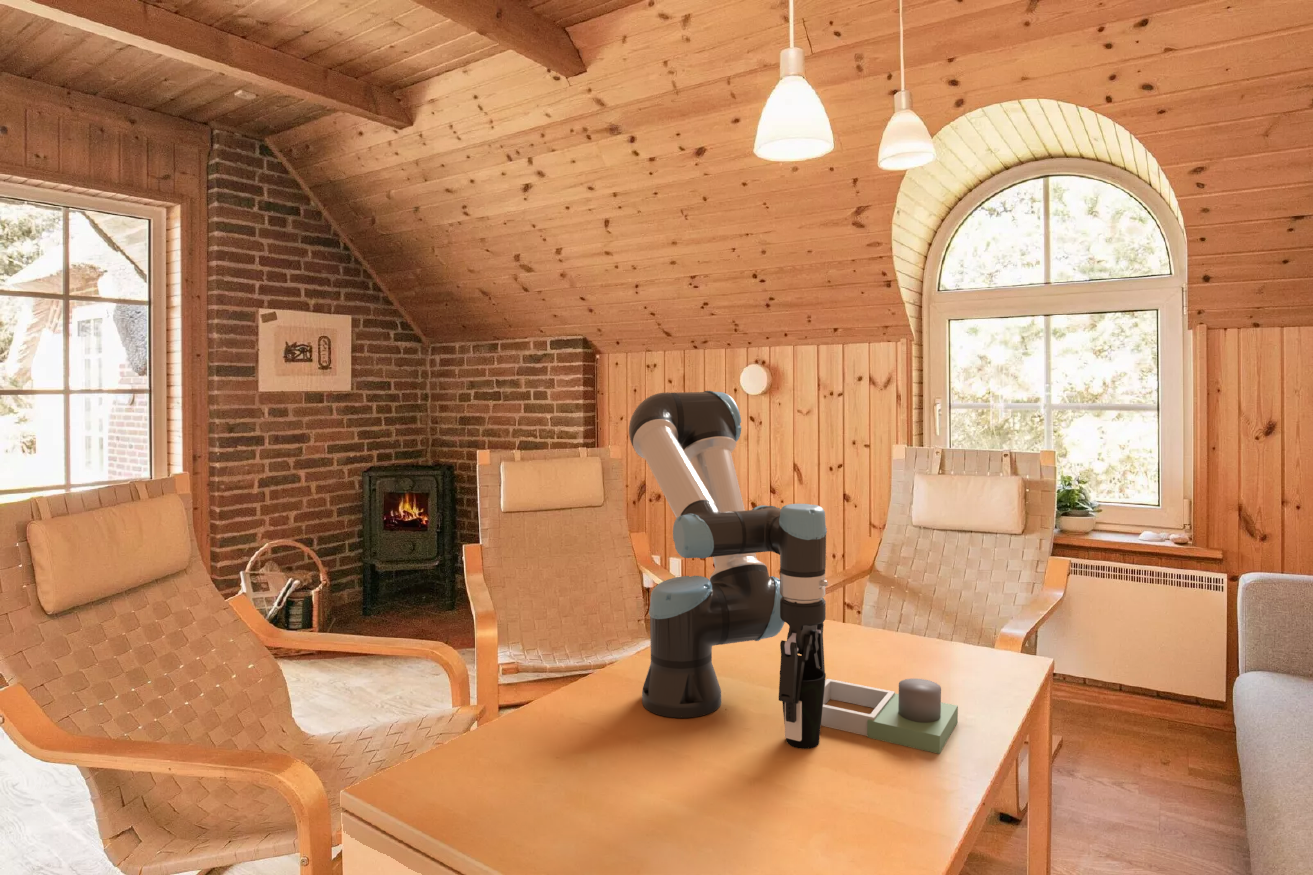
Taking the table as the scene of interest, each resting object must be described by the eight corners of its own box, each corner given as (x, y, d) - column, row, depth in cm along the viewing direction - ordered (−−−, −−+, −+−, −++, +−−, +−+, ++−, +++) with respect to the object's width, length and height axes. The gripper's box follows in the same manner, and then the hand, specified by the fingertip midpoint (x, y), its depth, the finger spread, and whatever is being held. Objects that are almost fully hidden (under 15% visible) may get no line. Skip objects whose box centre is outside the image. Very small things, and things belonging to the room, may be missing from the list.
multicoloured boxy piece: (801, 722, 145) (801, 678, 144) (828, 695, 157) (828, 655, 156) (939, 753, 132) (940, 706, 132) (957, 721, 144) (958, 678, 144)
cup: (825, 753, 133) (825, 682, 132) (778, 749, 135) (778, 679, 134) (825, 733, 140) (825, 665, 140) (780, 729, 142) (780, 663, 141)
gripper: (801, 616, 125) (800, 759, 127) (844, 585, 142) (843, 711, 144) (756, 609, 129) (756, 748, 131) (804, 580, 146) (804, 703, 148)
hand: (802, 728), depth 137 cm, fingers closed on cup, 8 cm apart
